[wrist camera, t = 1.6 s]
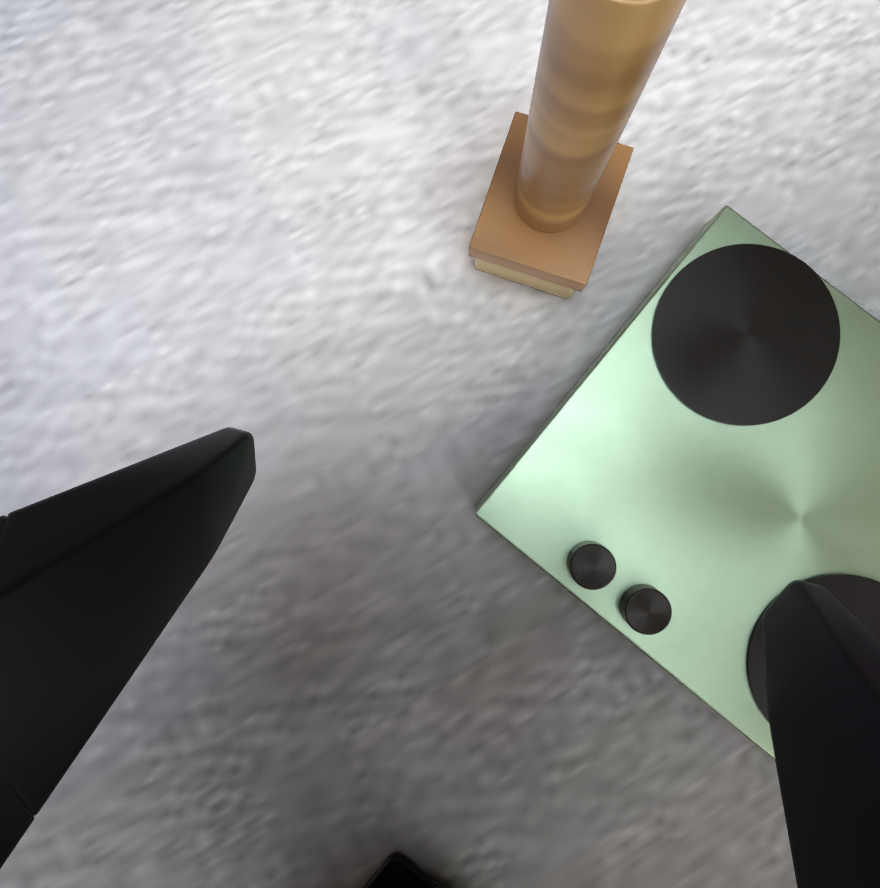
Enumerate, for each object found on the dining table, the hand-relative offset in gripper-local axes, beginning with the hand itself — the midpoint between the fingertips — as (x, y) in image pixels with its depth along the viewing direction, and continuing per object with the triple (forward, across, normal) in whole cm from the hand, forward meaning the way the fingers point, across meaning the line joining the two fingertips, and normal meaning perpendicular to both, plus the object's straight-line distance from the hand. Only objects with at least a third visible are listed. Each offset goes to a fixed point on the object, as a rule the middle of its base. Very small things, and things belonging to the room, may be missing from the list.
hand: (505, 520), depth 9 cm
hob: (+14, -12, +8) cm, 20 cm away
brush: (+19, +1, 0) cm, 19 cm away
